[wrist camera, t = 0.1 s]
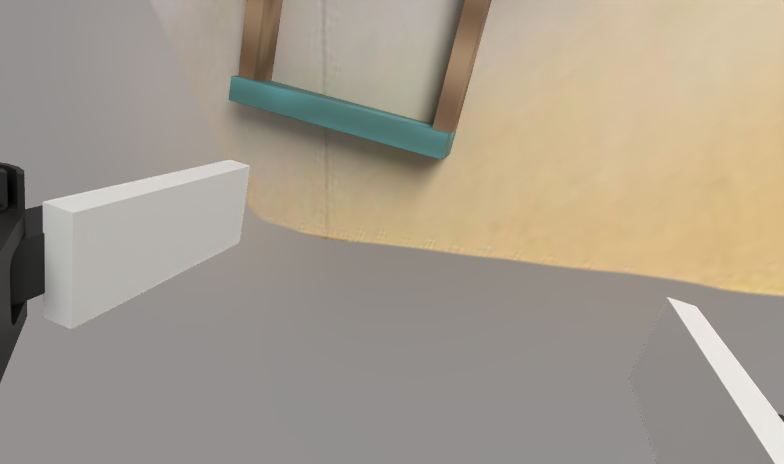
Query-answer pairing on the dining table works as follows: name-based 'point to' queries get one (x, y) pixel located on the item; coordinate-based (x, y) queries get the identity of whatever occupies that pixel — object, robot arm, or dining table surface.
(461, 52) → the u-shaped wooden frame
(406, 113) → the dining table surface
